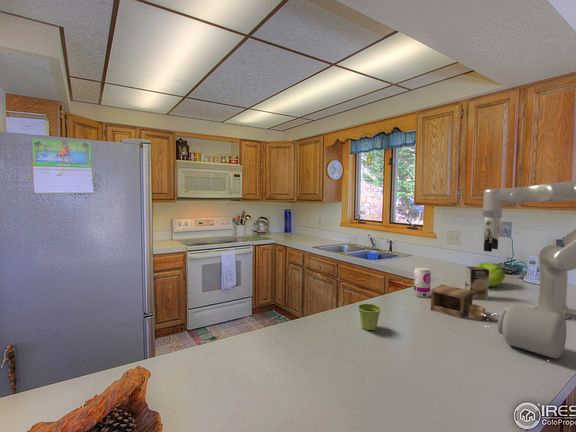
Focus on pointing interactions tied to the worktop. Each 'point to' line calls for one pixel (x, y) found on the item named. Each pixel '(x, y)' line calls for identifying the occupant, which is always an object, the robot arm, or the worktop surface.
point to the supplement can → (422, 282)
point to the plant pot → (369, 315)
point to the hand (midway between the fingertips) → (490, 250)
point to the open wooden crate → (451, 300)
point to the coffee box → (477, 282)
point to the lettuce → (493, 273)
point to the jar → (533, 330)
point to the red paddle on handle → (478, 313)
